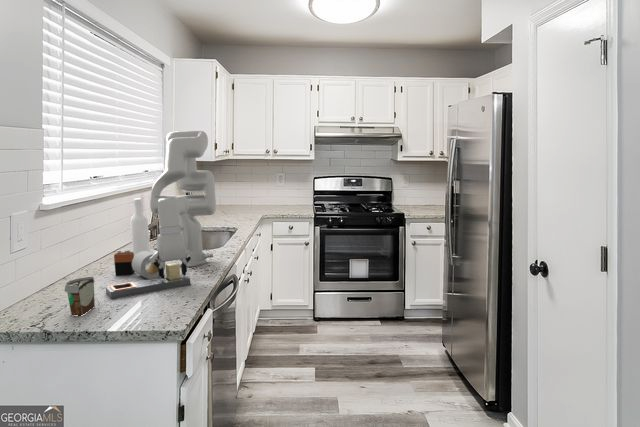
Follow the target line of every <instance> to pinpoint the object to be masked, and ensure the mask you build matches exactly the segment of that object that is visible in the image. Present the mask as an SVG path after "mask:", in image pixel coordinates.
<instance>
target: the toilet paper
mask: <svg viewBox="0 0 640 427" xmlns="http://www.w3.org/2000/svg"><path fill="white" fill-rule="evenodd" d="M153 254H155V253H153V252H151V251H150V252H148V251H142V252H139V253H137V254H136V255H135V256H134V258H133V260H132V268H133V270H134V271H135V273H136V274H137V275H139V276H141V277H144V278H146V279H147V280H150V279H156V278H160V277H159V272H158V267H157V266H155V265H154V264H153V263H152V262H151V261H149V258H150V257H151V256H152V255H153ZM148 261H149V262H150V266H149V267H148V268H146V267H147V264H148V263H149V262H148ZM155 261H156V262H157V263H158V262H159V260H158V259H157V257H156V258H155ZM163 268H164V271H166V262H165V263H164V265H163Z"/></svg>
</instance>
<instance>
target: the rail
mask: <svg viewBox="0 0 640 427" xmlns="http://www.w3.org/2000/svg"><path fill="white" fill-rule="evenodd" d="M191 285H192V284H191V278H190V277H189V276H187V275H183V274H182V273H180V279H178V280H172V281H167V278H166V276H164V279H162V278H160V277H158V278H155V279H143V280H137V281H131V282H125V283H118V284H111V285H108V286H107V285H106V286H105V294H106V295H107V296H108V298H109V299H110V298H111V299H110V300H114V298H115V299H119V298H127V297H131V296H136V295H143V294H148V293H155V292H159V291H164V290H169V289H170V290H171V289H176V288H180V287H188V286H191Z"/></svg>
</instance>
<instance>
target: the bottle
mask: <svg viewBox="0 0 640 427" xmlns="http://www.w3.org/2000/svg"><path fill="white" fill-rule="evenodd" d="M132 203H133V211H134V212H133V213H134V214H132V216H131V217H130V220H129V223H130V238H131V250H132V251H131V252H133V253H134V256H135V255H136V254H137V253H139V252H142V251H148V252H151V247H150V246H151V245H150V233H149V221H148V218H147V216H146V214H144V213H143V200H142V198H133V202H132ZM149 262H151V261H150V260H149V261H148V262H147V263H149Z"/></svg>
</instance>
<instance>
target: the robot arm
mask: <svg viewBox="0 0 640 427" xmlns="http://www.w3.org/2000/svg"><path fill="white" fill-rule="evenodd" d="M166 143H167V144H166V153H165V164H164V166H165V167H164V171H163V172H162V174H160V175H159V177H158V178H157V179H156V180H155V182H154V183H153V185H152V187H151V192H150V202H149V207H150V211H151V213H152V214H153V215H155V216H158V225H159V229H158V230H159V234H157V237H156V251H155V253H154V254H153V255H152V256H151V257H150V258H149V260H150V261H149V262H150V263H151V262H152V263H153V264H154V265H155V266H157V267H158V272H159V277H158V278H162V279H164V277H165V270H164V268H163V265H164V263H165V264H166V263H167V262H171V261H172V262H173V261H177V264H179V267H181V269H180V270H181V271H180V272H181V274H183V275H185V276H187V272H188V267H198V266H203V265H205V264H207V260H206V259H211V258H213V257H214V253H209V252H208V253H206V252H203V240H202V226H201V223H200V221H199V220H198V219H197V216H199V217H200V216H202V217H203V216H212V215H215V212H216V209H217V204H216V202H217V200H216V185H215V184H216V183H215V182H216V181H215V176H214V174H213V172H212V171H211V170H207V169H205V170H203V169H201V170H198V165H197V159H199V158H202V157H203V156H204V154H205V152H206V150H207V149H208V145H209V138H208V135H207V133H206V132H205V131H203V130H176V131H171V132H169V133H167V135H166ZM176 182H177V185H178V189H179V191H181V192H186V193H188V192H189V193H194V192H197V193H198V192H201V193H202V192H203V194H185V195H161V194H162V192H163V190H164V189H165V188H167V187H168V186H169V185H172V184H173V183H174V184H175V183H176ZM156 257H157V259H158V260H159V262H158V263H157V262H156V261H155V258H156Z"/></svg>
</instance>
